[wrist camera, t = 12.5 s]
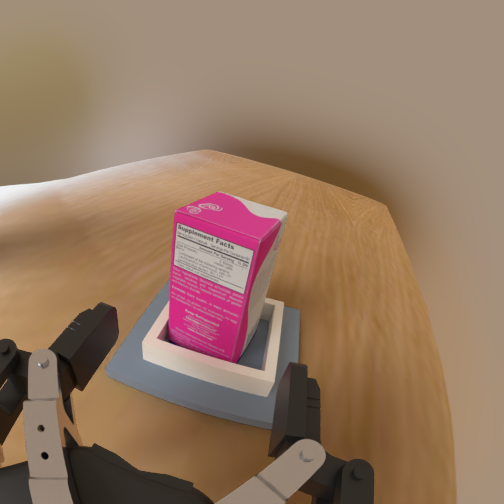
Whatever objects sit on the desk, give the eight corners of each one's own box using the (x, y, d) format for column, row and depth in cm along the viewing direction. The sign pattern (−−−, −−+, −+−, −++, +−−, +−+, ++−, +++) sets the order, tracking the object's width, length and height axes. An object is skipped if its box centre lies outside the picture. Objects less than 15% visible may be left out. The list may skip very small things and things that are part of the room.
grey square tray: (107, 375, 18) (101, 351, 16) (172, 281, 30) (174, 258, 29) (289, 433, 17) (303, 414, 16) (297, 317, 30) (306, 294, 28)
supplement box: (199, 306, 26) (219, 188, 21) (257, 333, 25) (294, 213, 20) (164, 342, 21) (173, 206, 16) (229, 376, 20) (268, 240, 15)
